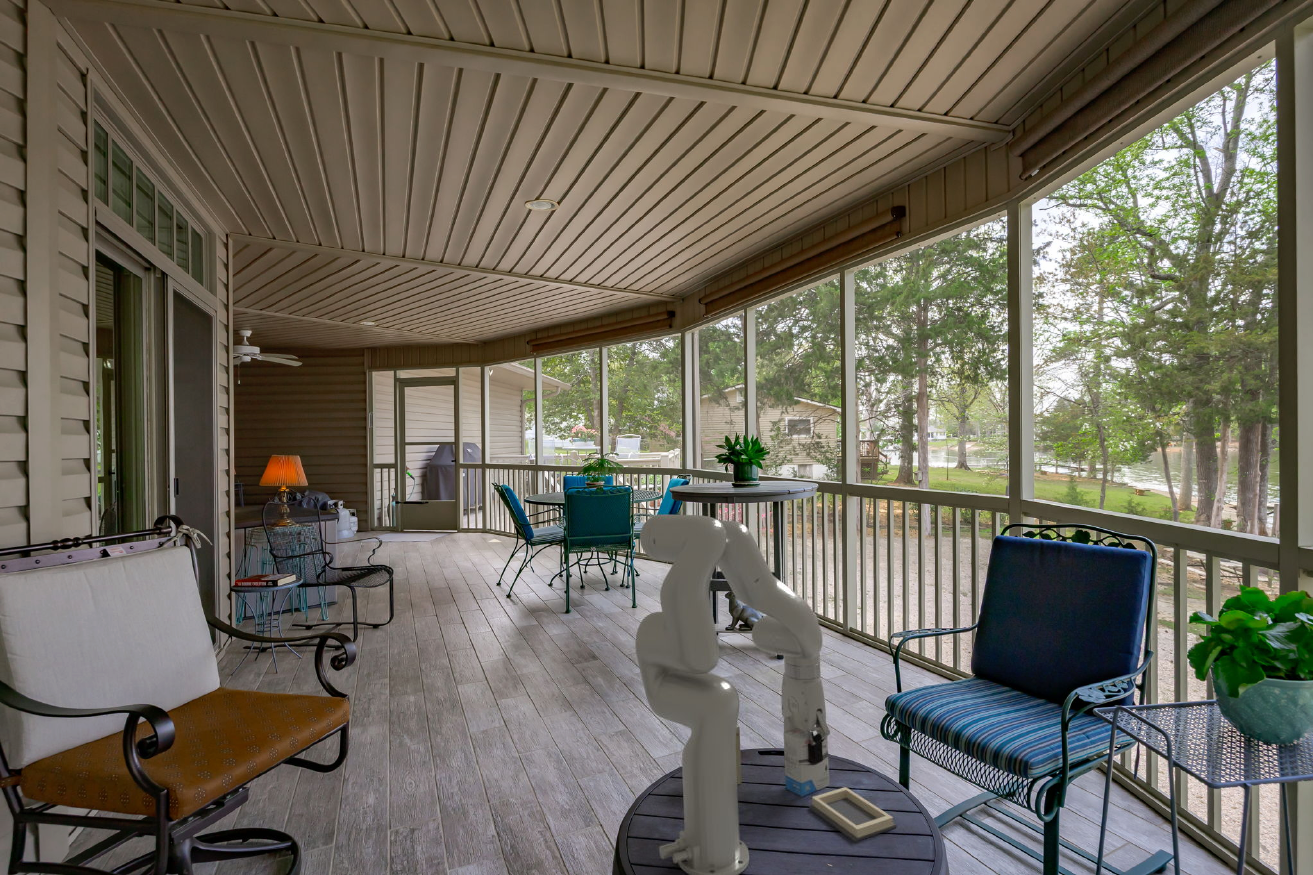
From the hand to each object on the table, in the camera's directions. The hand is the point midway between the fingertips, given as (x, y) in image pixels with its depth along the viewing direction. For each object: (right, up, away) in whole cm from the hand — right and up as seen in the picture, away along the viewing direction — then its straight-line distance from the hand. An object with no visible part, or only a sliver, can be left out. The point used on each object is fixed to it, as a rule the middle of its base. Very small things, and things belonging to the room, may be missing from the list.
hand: (806, 755), depth 136 cm
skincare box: (-17, -8, +3) cm, 19 cm away
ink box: (0, -7, 0) cm, 7 cm away
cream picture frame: (+6, -6, -13) cm, 15 cm away
